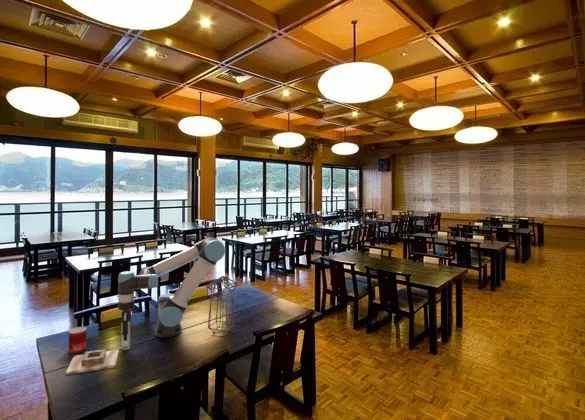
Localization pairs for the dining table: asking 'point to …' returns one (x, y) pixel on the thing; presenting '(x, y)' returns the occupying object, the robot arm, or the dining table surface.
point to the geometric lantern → (223, 302)
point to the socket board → (104, 365)
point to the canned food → (77, 339)
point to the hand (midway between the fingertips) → (125, 343)
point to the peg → (128, 339)
